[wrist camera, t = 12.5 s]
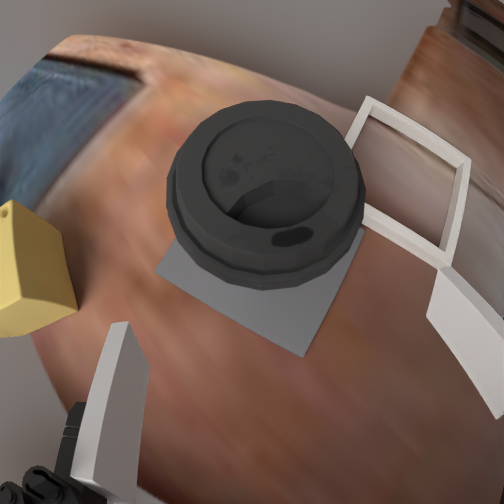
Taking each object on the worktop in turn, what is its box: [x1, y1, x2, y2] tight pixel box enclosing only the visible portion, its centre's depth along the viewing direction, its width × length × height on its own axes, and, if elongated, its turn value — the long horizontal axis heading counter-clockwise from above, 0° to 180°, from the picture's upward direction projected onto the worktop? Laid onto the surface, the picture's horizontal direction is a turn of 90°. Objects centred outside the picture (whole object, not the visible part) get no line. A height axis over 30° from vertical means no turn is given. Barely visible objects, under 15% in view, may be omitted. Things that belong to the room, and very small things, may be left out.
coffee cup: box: [166, 100, 366, 291], centre depth 22 cm, size 11×11×15 cm
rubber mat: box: [154, 227, 365, 358], centre depth 29 cm, size 16×14×1 cm
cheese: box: [0, 200, 78, 338], centre depth 24 cm, size 10×11×10 cm
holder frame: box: [344, 96, 471, 270], centre depth 31 cm, size 16×16×2 cm
